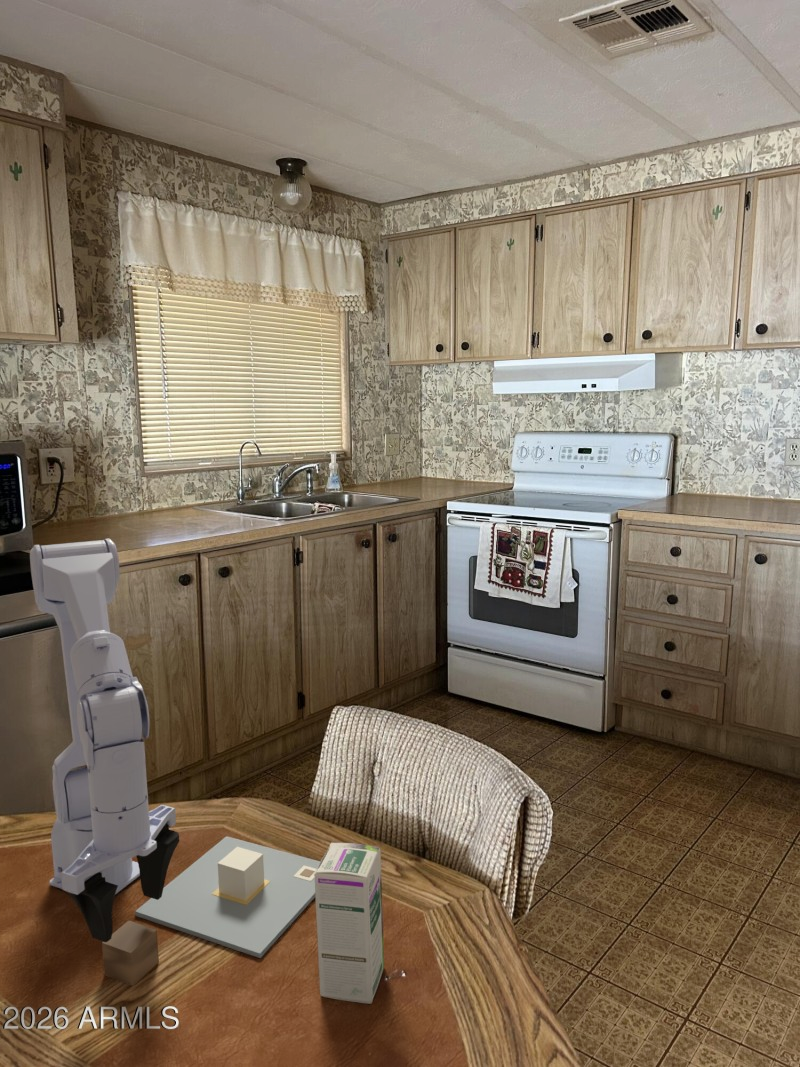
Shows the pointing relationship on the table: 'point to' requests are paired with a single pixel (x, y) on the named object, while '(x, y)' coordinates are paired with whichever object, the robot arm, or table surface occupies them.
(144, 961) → the walnut block
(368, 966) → the syrup box
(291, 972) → the table surface
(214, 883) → the board
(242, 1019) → the table surface
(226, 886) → the cream block
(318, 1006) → the table surface
